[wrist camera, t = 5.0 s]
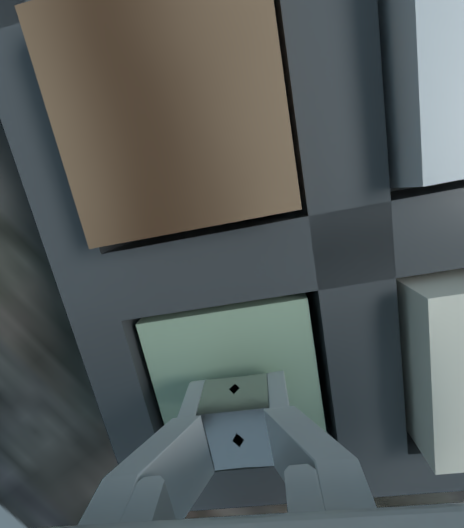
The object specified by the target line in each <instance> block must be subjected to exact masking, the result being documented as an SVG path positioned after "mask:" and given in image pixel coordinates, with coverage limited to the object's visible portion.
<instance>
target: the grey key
mask: <svg viewBox="0 0 464 528" xmlns="http://www.w3.org/2000/svg"><path fill="white" fill-rule="evenodd" d="M377 4H378V18H379V33H380V48H381V63H382V77H383V92H384V107H385V122H386V136H387V151H388V166H389V181H390V188H403V187H425V186H430V185H435V184H441V183H446V182H451V181H457V180H462V179H464V0H377Z"/></svg>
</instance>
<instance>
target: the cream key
mask: <svg viewBox="0 0 464 528" xmlns="http://www.w3.org/2000/svg"><path fill="white" fill-rule="evenodd" d="M396 284H397V299H398V314H399V328H400V343H401V358H402V373H403V387H404V402H405V417H406V430H407V432H408V433H409V435H410V436H411V438H412V439H413V441H414V442H415V444H416V445H417V447H418V449H419V450H420V452H421V453H422V455H423V456H424V458H425V459H426V461H427V462H428V464H429V466H430V467H431V469H432V470H433V472H434V473H435V475H440V474H453V473H464V268H460V269H453V270H447V271H440V272H434V273H428V274H421V275H415V276H408V277H402V278H396Z"/></svg>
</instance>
